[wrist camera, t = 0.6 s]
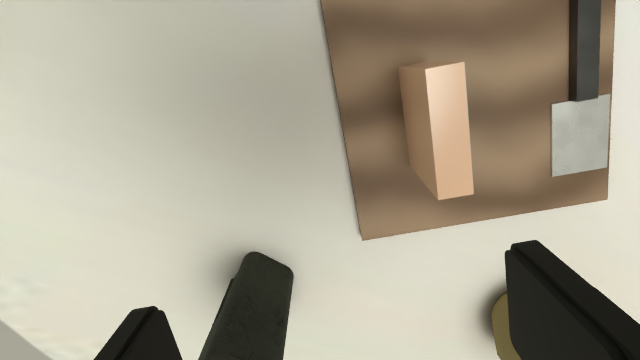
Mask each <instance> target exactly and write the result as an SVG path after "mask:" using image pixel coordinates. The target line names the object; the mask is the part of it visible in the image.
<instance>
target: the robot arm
mask: <svg viewBox="0 0 640 360" xmlns="http://www.w3.org/2000/svg"><path fill="white" fill-rule="evenodd" d="M505 267H506V283H507V300H508V316H509V333H510V339H511V342H512V345H513V347H514V349H515V351H516V352H517V354H518V355H519V357H520V358H521V360H640V324H639V323H637V322H636V321H635V320H634V319H632V318H631V317H630V316H629V315H628V314H626V313H625V312H624V311H623V310H622V309H620V308H619V307H618V306H617V305H616V304H614V303H613V302H612V301H611V300H610V299H608V298H607V297H606V296H605V295H604V294H602V293H601V292H600V291H599V290H598V289H596V288H594V287H593V286H591V285H590V284H589V283H588V282H587V281H585V280H584V279H583V278H582V277H581V276H579V275H578V274H577V273H576V272H575V271H573V270H572V269H571V268H570V267H569V266H567V265H566V264H565V263H564V262H563V261H561V260H560V259H559V258H558V257H557V256H555V255H554V254H553V253H552V252H551V251H549V250H548V249H547V248H546V247H545V246H543V245H542V244H541V243H540V242H538V241H537V240H532V241H526V242H520V243H514V244H512V245H511V250H507V251H506V252H505ZM94 360H182V357H181V355H180V352H179V349H178V347H177V344H176V341H175V339H174V336H173V334H172V331H171V328H170V326H169V323H168V320H167V318H166V315H165V313H164V312H163V311H162V310H158V308H157V307H155V306H151V307H145V308H139V309H134V310H132V311H131V312H130V313H129V314H128V315H127V317H126V318H125V319H124V321H123V322H122V323H121V325H120V326H119V327H118V329H117V330H116V331H115V333H114V334H113V335H112V336H111V338H110V339H109V340H108V342H107V343H106V344H105V346H104V347H103V348H102V350H101V351H100V352H99V353H98V355H97V356H96V357H95V359H94Z"/></svg>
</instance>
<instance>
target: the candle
mask: <svg viewBox="0 0 640 360" xmlns="http://www.w3.org/2000/svg"><path fill="white" fill-rule="evenodd" d="M293 278H294V276H293V272H292V271H291V269H290V268H288V267H287V266H285V265H283V264H281V263H279V262H277V261H275V260H273V259H271V258H269V257H267V256H265V255H263V254H261V253H258V252H251V253H249V254H247V255H246V256H245V257H244V259H243V262H242V264H241V267H240V269H239V271H238V273H237V275H236V276H235V278H234V279H231V281H230V284H229V286H228V289H227V291H226V294H225V296H224V298H223V301H222V303H221V306H220V308H219V311H218V313H217V315H216V318H215V320H214V323H213V325H212V328H211V330H210V332H209V335H208V337H207V340H206V342H205V345H204V347H203V349H202V352H201V354H200V357H199V359H198V360H283V355H284V347H285V339H286V332H287V324H288V316H289V308H290V301H291V293H292V285H293Z"/></svg>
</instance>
